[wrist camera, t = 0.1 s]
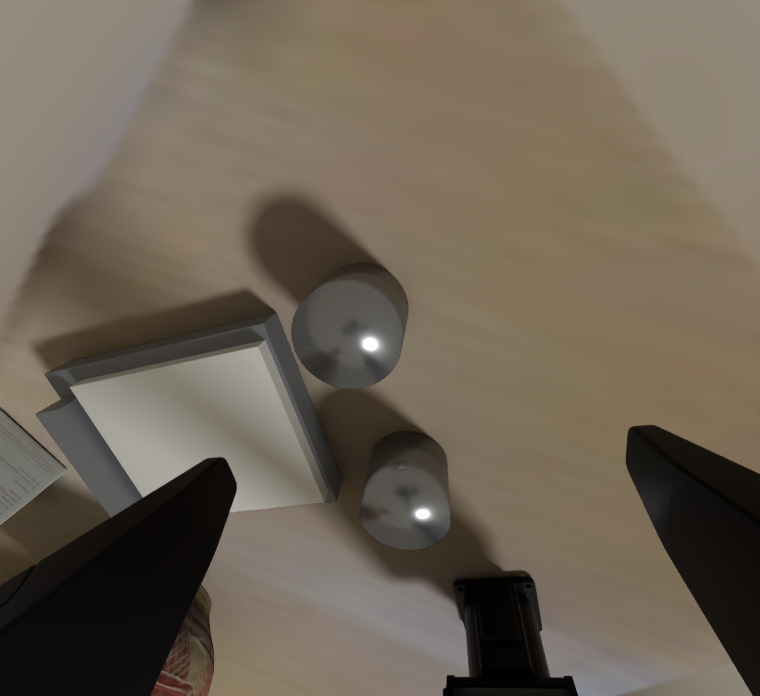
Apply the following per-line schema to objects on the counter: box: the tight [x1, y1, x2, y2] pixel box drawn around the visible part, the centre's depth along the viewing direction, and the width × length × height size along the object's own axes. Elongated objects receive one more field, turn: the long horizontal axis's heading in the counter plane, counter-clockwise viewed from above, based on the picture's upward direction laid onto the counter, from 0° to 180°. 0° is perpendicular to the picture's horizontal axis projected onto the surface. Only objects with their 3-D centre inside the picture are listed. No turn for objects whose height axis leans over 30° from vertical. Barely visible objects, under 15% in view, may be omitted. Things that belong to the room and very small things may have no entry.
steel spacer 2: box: [360, 431, 450, 550], centre depth 24 cm, size 6×6×5 cm
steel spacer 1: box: [291, 263, 408, 389], centre depth 20 cm, size 6×6×5 cm
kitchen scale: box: [35, 313, 343, 518], centre depth 26 cm, size 14×17×4 cm
